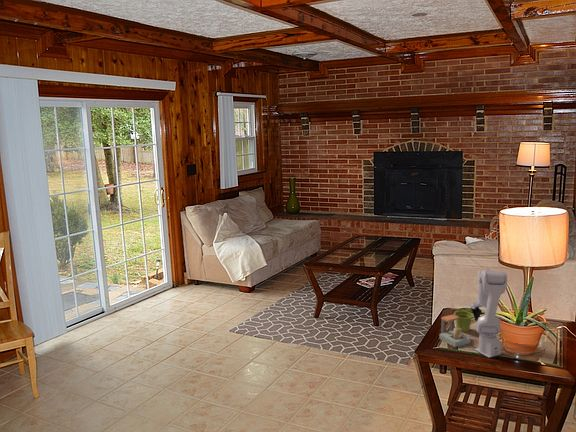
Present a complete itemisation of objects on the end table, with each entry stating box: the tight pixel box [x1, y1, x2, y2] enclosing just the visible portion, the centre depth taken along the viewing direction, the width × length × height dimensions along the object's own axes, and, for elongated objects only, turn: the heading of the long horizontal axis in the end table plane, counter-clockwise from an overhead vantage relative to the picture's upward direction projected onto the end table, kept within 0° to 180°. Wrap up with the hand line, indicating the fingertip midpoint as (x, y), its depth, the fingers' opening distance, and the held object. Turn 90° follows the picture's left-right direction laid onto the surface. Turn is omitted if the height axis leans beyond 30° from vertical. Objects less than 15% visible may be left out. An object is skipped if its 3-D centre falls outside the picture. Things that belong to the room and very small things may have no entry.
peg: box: [453, 326, 462, 340], centre depth 257 cm, size 4×4×7 cm
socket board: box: [438, 330, 472, 348], centre depth 259 cm, size 11×10×2 cm
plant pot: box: [453, 310, 474, 333], centre depth 271 cm, size 9×9×9 cm
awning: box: [440, 314, 458, 334], centre depth 264 cm, size 4×7×10 cm, turn 115°
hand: (482, 319), depth 259 cm, fingers open, 7 cm apart
